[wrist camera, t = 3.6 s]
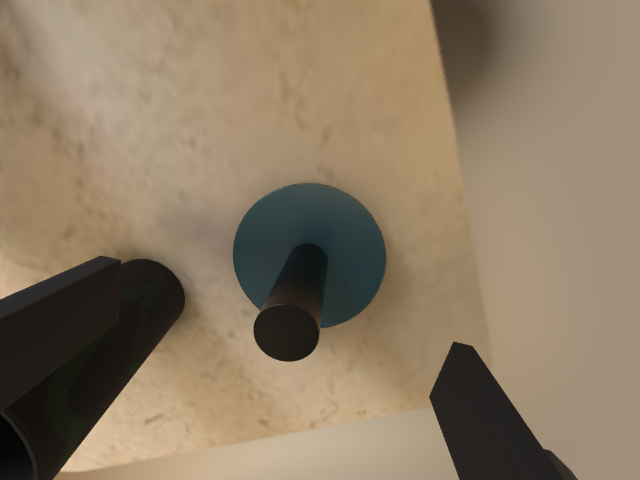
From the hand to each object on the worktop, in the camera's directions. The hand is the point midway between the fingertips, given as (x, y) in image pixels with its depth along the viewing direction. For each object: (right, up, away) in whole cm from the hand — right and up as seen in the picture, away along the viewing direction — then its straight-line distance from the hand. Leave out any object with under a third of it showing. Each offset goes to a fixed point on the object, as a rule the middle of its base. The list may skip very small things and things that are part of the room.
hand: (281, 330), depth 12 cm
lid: (+1, +2, +8) cm, 8 cm away
